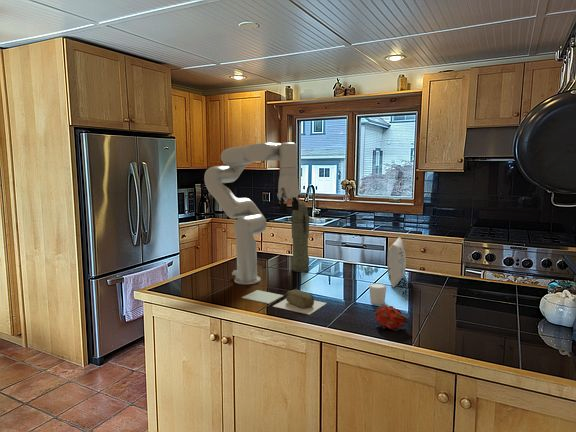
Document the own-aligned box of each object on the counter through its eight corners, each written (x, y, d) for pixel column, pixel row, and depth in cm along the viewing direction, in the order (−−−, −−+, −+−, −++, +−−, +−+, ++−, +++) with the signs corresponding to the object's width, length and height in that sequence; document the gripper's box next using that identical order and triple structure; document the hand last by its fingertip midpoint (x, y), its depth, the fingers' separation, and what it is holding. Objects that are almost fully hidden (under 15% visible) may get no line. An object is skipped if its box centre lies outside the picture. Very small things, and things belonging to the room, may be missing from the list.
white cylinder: (386, 300, 171) (387, 283, 170) (385, 305, 165) (385, 288, 164) (370, 298, 173) (370, 282, 172) (367, 304, 167) (368, 287, 166)
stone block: (304, 310, 161) (304, 297, 160) (285, 302, 169) (284, 290, 169) (315, 306, 164) (314, 294, 164) (295, 299, 173) (295, 287, 172)
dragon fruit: (372, 326, 148) (405, 339, 142) (366, 320, 142) (400, 333, 135) (381, 305, 151) (413, 316, 144) (375, 297, 144) (409, 309, 138)
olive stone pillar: (303, 273, 211) (303, 205, 206) (286, 269, 219) (285, 203, 214) (314, 269, 218) (314, 203, 213) (297, 266, 226) (297, 202, 221)
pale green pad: (241, 298, 176) (241, 297, 176) (257, 290, 185) (257, 290, 185) (268, 304, 168) (268, 303, 168) (283, 296, 178) (283, 295, 177)
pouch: (409, 277, 202) (410, 237, 199) (400, 289, 185) (401, 245, 182) (392, 275, 205) (393, 236, 202) (382, 286, 189) (383, 243, 186)
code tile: (272, 306, 166) (272, 305, 165) (291, 296, 177) (291, 295, 177) (309, 314, 156) (309, 314, 156) (326, 303, 168) (326, 302, 168)
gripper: (291, 171, 187) (292, 208, 190) (270, 172, 173) (271, 213, 175) (306, 171, 183) (306, 209, 186) (285, 172, 169) (286, 214, 171)
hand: (289, 211), depth 180 cm, fingers open, 9 cm apart
